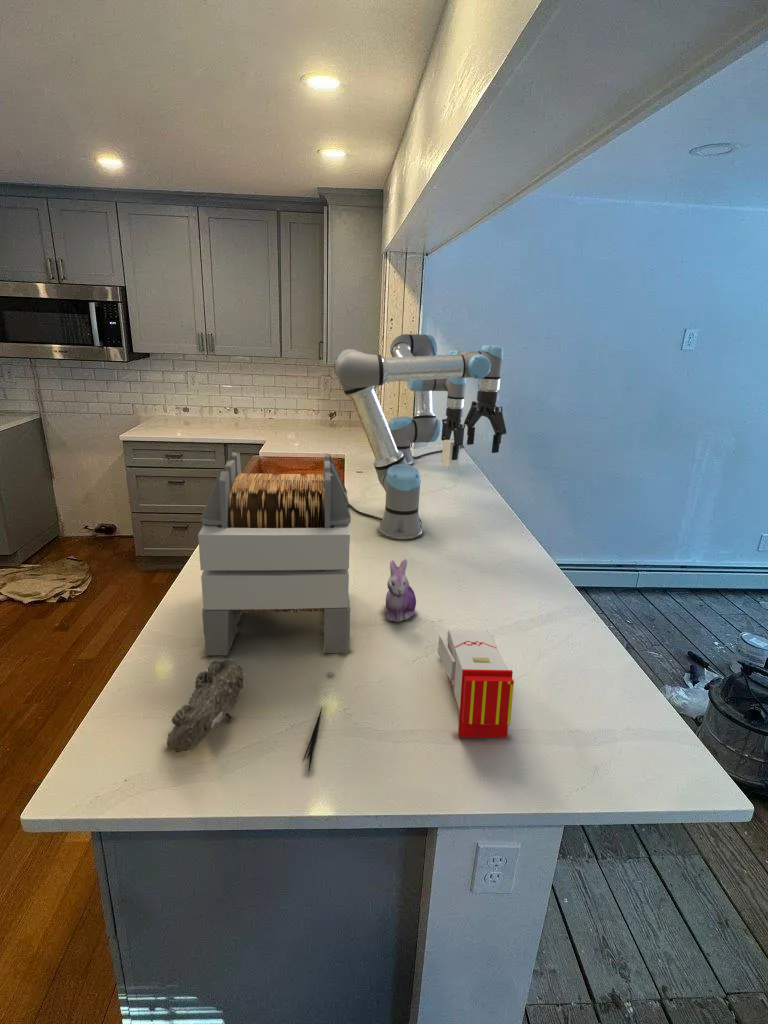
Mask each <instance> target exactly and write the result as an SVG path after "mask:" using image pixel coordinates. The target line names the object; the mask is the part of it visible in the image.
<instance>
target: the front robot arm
mask: <svg viewBox="0 0 768 1024" xmlns="http://www.w3.org/2000/svg"><path fill="white" fill-rule="evenodd" d="M503 361H504V348H503V347H502V346H500V345H492V344H491V345H490V344H487V345H486V344H483V345H482V346H481V349H480V350H476V351H475V350H461V349H457V350H450V351H449V352H448V353H447V354H440V355H438V354H437V356H414V357H392V356H390V357H385V356H384V355H382V354H371V353H365V352H363V351H362V350H360V349H358V348H347V349H344V350H342V351H340V352H339V353H338V355H337V356H336V358H335V360H334V363H333V370H334V374H335V376H336V377H337V378H338V380H339V383H340V385H341V389H342V390H343V393H344V395H345V396H347V397H349V398H350V399H351V401H352V403H353V406H354V408H355V411H356V413H357V416H358V419H359V420H360V424H361V426H362V429H363V431H364V433H365V436H366V439H367V441H368V444H369V446H370V449H371V451H372V453H373V456H374V458H375V459H374V461H373V464H372V465H373V467H374V470H375V472H376V474H377V481H378V482H379V484H380V485H381V486H382V488H383V490H384V491H385V504H384V505H385V507H384V508H385V509H384V513H383V515H382V517H379V516H376V515H372V514H369V513H365V512H362V511H360V510H358V509H357V508H355V507H354V506H353V505H352V504H350V503H349V508H350V509H351V510H352V511H354V512H355V513H357V514H359V515H362V516H365V517H368V518H373V519H375V520H378V521H381V522H379V526H378V533H379V534H380V535H381V536H382V537H385V538H387V539H389V540H395V541H410V540H415V539H418V538H420V537H421V536H422V535H423V525H422V520H421V518H420V515H419V507H420V506H419V505H420V494H421V493H420V492H421V483H422V480H421V479H422V478H421V471H420V470H419V468H417V467H415V466H412V465H408V464H407V462H406V459H405V456H404V454H403V452H402V451H399V450H397V447H396V445H395V442H394V439H393V437H392V434H391V431H390V429H389V426H388V425H389V423H388V421H387V419H386V416H385V413H384V411H383V408H382V406H381V403H380V400H379V397H378V394H377V392H376V390H375V387H377V386H378V387H379V386H384V385H385V384H386V383H390V382H393V383H394V382H408V381H412V380H430V379H448V378H466V379H468V378H469V379H470V378H473V379H475V380H476V379H478V383H477V389H478V390H477V393H476V400H474V401H471V405H470V408H469V410H468V413H467V414H466V417H465V418H464V422H463V424H465V426H466V427H467V430H466V436H467V439H466V445H467V446H471V445H474V443H475V435H476V434H475V433H476V426H475V425H476V424H477V423H478V422H479V420H480V419H481V417H484V418H487V419H488V420H489V422H490V425H491V427H492V430H493V432H494V434H493V435H492V443H491V444H492V445H491V454H497V453H499V451H500V445H501V443H502V436H503V435H506V434H507V428H506V427H507V426H506V423H505V419H504V414H503V406H497V403H498V401H499V395H500V392H499V390H500V384H501V374H502V367H503ZM286 474H289V473H288V472H287V473H286Z"/></svg>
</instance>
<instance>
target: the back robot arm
mask: <svg viewBox="0 0 768 1024" xmlns="http://www.w3.org/2000/svg"><path fill="white" fill-rule="evenodd" d="M389 348H390V349H389V353H390V355H391V357H414V356H437V355H438V343H437V340H436V338H435V337H434V336H433V335H431V334H417V333H415V334H412V333H410V334H409V333H404V334H400V335H398V336H396V337H395V338H394V339H393V340H392V342H391V344H390V347H389ZM466 385H467V378H448V379H430V380H412V381H407V386H408V389H409V390H410V391H413V392H414V398H415V399H414V401H415V402H414V403H415V413H414V415H413V416H412V417H411V416H404V415H403V416H396V417H391V418H390V419H389V421H388V426H389V429H390V431H391V434H392V437H393V439H394V442H395V445H396V447H397V450H399V451H402V452H403V454H404V456H405V459H406V462H407V464H408V465H411V466H412V465H413V464H414V459H419V458H420V459H421V458H422V457H425V456H428V455H433V454H437V453H443V449H441V450H435V451H430V452H426V453H422V454H420V455H417V456H413V454H412V449H411V444H414V443H419V444H420V443H426V444H427V443H434V442H437V440H438V439H439V437H440V436H441V437H440V441H442V442H444V440H450V439H451V436H452V433H453V439H454V445H453V452H452V460H457V458H458V453H459V454H460V452H459V446H460V449H461V448H464V447H465V446H464V437H465V428H466V424H464V423H463V422H462V417H463V416H464V409H463V408H464V404H465V396H466V395H465V393H466ZM433 392H447V397H446V408H445V417H446V418H442V419H441V421H440V420H439V419H438V418H437V415H436V414H435V413H434V411H433ZM441 422H442V425H441ZM441 428H442V429H441Z"/></svg>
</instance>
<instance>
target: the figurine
mask: <svg viewBox="0 0 768 1024" xmlns="http://www.w3.org/2000/svg"><path fill="white" fill-rule="evenodd" d="M407 567H408V559H406V558H404V559H403V560H402V561H401V563H400V565H399V566H398V565H397V563H396V562H395V561H394V560H393V559H391V560H390V561H389V570H390V576H389V578H388V579H387V589H388V591H387V592H386V594H385V595H386V596H385V607H384V615H385V616H386V620H387V621H391V622H395V623H400V622H402V621H406V620H409V619H410V618H411V617H413V616H414V615H415V610H416V606H417V597H416V593H415V591H414V590H413V587H411V586H410V582H409V579H408V577H407V574H406V571H407Z"/></svg>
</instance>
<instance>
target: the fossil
mask: <svg viewBox="0 0 768 1024" xmlns="http://www.w3.org/2000/svg"><path fill="white" fill-rule="evenodd" d="M243 670H244V669H243V667H242V665H240V664H237V662H236V661H235V660H234V659H232V658H231V659H227V658H226V659H224V660H223V661H222V660H217V659H212V660H211V661H210V663H209V665H208V666H207V671H201V672H199V673H198V674H197V675H196V676H195V680H194V684H195V685H194V687H195V689H194V690H193V693H192V694H191V697H190V698H189V700H188V704H184V705H182V706H181V707H180V709H177V710H176V711H175V713H174V715H173V716H172V718H171V723H172V724H173V727H172V730H171V731H170V732H168V734H167V738H166V741H167V742H166V745H167V749H168V750H169V751H173V752H174V753H176V754H178V753H182V752H188V751H189V752H192V751H193V750H195V748H196V747H197V746H199V744H200V743H201V742H203V741H204V740H205V739H206V738H207V737H208V736H209V735H210V734H211V733H212V732H214V730H215V729H217V727H218V726H219V724H220V722H221V721H222V720H223V719H224V718H225V716H226V717H227V719H229V720H233V717H232V715H230V714H229V710H230V709H231V708H234V706H235V704H236V703H237V702H238V699H239V697H240V695H241V693H242V691H243V690H245V689H244V688H245V675H244V671H243Z"/></svg>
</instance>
